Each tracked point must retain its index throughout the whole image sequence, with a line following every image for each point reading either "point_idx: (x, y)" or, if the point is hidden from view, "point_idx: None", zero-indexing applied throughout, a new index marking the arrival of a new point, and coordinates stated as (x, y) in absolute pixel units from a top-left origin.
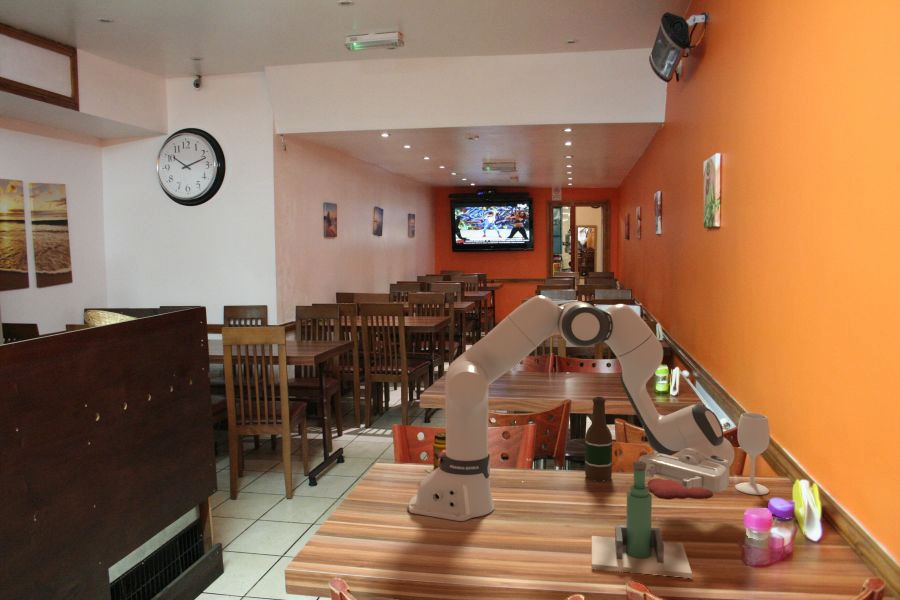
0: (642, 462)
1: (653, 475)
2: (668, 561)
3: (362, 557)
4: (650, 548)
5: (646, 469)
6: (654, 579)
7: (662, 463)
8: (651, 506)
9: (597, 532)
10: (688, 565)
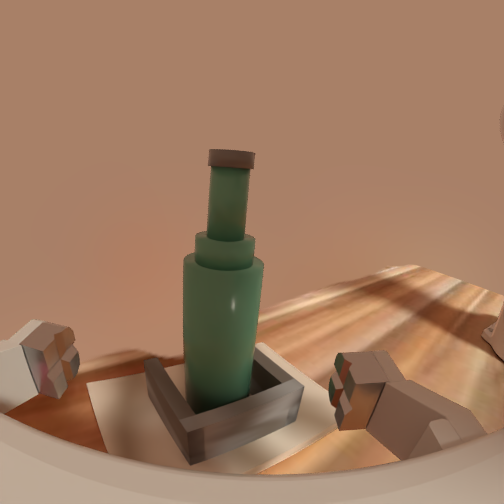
0: (228, 150)
1: (339, 420)
2: (139, 404)
3: (415, 278)
4: (185, 394)
5: (376, 351)
6: None
7: (390, 465)
8: (184, 295)
9: (382, 455)
10: (94, 405)
